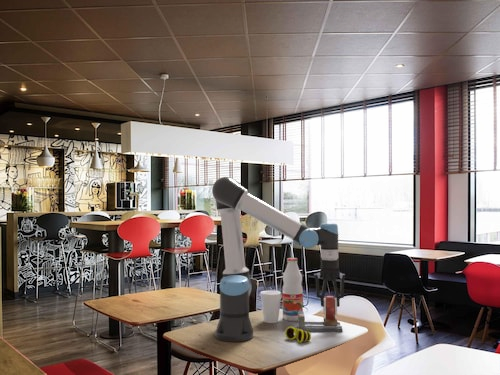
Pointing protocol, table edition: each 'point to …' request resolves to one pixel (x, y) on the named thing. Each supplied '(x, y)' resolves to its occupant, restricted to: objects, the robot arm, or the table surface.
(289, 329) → the opera glasses
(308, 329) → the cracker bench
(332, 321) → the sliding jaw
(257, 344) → the table surface
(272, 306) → the foam cup
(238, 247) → the robot arm
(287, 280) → the fruit juice
